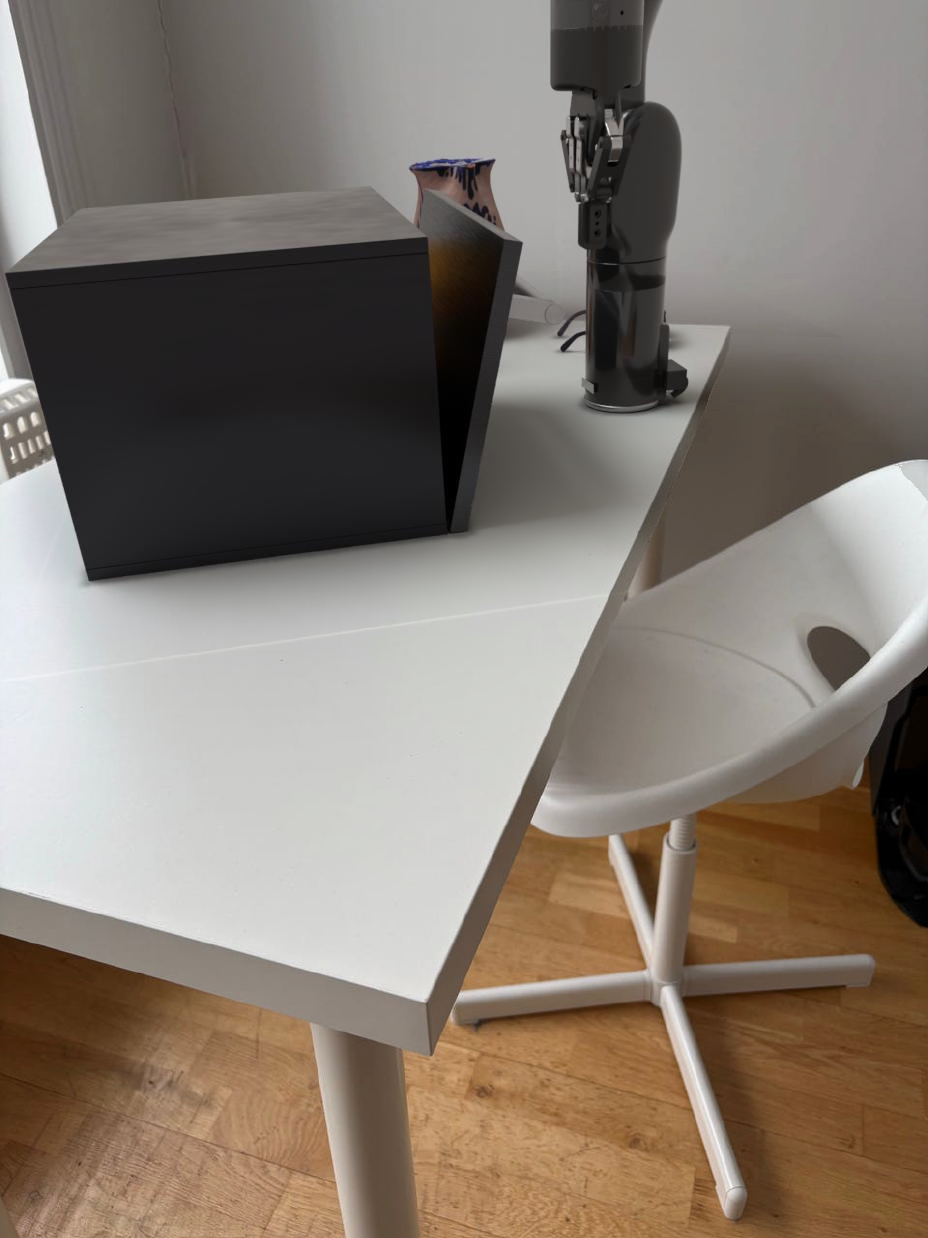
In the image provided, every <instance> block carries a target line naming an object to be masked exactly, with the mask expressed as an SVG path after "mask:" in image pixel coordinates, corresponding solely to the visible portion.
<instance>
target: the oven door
mask: <svg viewBox="0 0 928 1238" xmlns="http://www.w3.org/2000/svg"><path fill="white" fill-rule="evenodd" d="M419 230H420V231H421V232H423V233H424V234H425V235H426V236H427V237H428V248H429V252H428V253H429V263H430V278H431V294H432V309H433V324H434V339H435V355H436V370H437V385H438V400H439V416H440V431H441V446H442V462H443V477H444V492H445V507H446V524H447V529H448V530H449V532H451V533H467V532H468V530H469V524H470V518H471V514H472V508H473V503H474V497H475V493H476V488H477V482H478V477H479V472H480V466H481V462H482V456H483V452H484V447H485V441H486V435H487V432H488V426H489V421H490V415H491V410H492V406H493V400H494V396H495V390H496V384H497V379H498V374H499V370H500V364H501V359H502V354H503V350H504V349H503V348H504V344H505V337H506V333H507V327H508V323H509V319H512V320H513V319H514V320H519V321H526V322H532V323H533V322H534V323H539V324H545V325H551V326H556V325H559V324H560V323H562V322H563V320H564V318H565V309H564V308H563V306H561V304H560V303H558V302H556V301H555V300H554V299H552V298H551V297H549V296H548V295H547V294H545V293H544V292H543V291H541V290H540V289H539V288H537V287H536V286H535V285H533V284H532V283H531V282H529V281H528V280H527V279H525V278H523V277H522V276H521V275H520V274H518V272H519V266H520V261H521V255H522V249H523V246H524V245H523V244H524V242H523V241H521V240H520V239H519V238H517V237H515V236H513V235H512V234H510V233H508V232H507V231H506V230H505V229H504V230H505V231H504V230H502V229H500V228H499V227H497V226H495V225H494V224H492V223H490V222H489V221H487V220H485V219H484V218H482V217H481V216H479V215H477V214H476V213H474V212H472V211H471V210H469V209H467V208H466V207H464V206H462V205H461V204H459V203H457V202H456V201H454V200H452V199H451V198H449V197H448V196H446V195H444V194H443V193H441V192H439V191H437V190H431V189H426V188H425V191H424V197H423V204H422V211H421V218H420V225H419Z"/></svg>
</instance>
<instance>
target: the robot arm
mask: <svg viewBox="0 0 928 1238" xmlns="http://www.w3.org/2000/svg"><path fill="white" fill-rule="evenodd" d="M663 3H664V0H549V4H550V5H549V6H550V8H549V12H550V15H549V16H550V17H549V18H550V19H549V20H550V23H549V24H550V30H549V31H550V33H549V34H550V35H549V38H550V40H549V42H550V44H549V45H550V48H549V49H550V50H549V51H550V52H549V55H550V56H549V59H550V60H549V61H550V62H549V64H550V65H549V67H550V68H549V70H550V71H549V83H550V85H549V86H550V88H551V89H552V90H553V91H555V92H571V97H570V107H569V115H567V116H566V119H565V120H566V121H565V127H566V129H561V132H560V136H559V139H560V143H561V149H562V154H563V160H564V164H565V170H566V176H567V182H568V188H569V192H570V193H571V194H573V193H574V200H575V202H576V203H578V207H577V208H578V210H577V211H578V212H577V245H578V246H579V247H580V248H582V249H584V250H586V254H585V255H586V259H585V260H586V261H585V264H586V265H585V310H586V314H585V331H586V335H585V348H584V349H585V350H584V351H585V355H584V356H585V357H584V359H585V360H584V361H585V363H584V377H581V387H582V388H584V395H583V402H584V404H585V405H586V406H587V407H589V408H591V409H594V410H597V411H601V412H607V413H623V414H624V413H635V412H636V413H637V412H642V411H646V410H650V409H652V408H655V407H657V406H661V405H666V404H667V392H668V391H670V392H669V395H670V396H671V397H672V398H673V399H677V397H679V396H680V395H682V394H683V393H684V392H686V390H687V389H688V387H689V378H688V369H687V368H686V367H684V366H683V365H681V364H679V362H677V361H676V360H674V359H672V358H670V359H669V352H670V350H669V349H670V333H671V332H670V329H671V327H670V325H669V323H667V322H666V323H665V322H664V310H665V306H666V305H665V303H666V285H667V283H666V281H667V263H668V261H667V260H668V247H669V246H668V245H669V241H670V239H671V237H672V234H673V232H674V229H675V226H676V222H677V215H678V205H679V196H680V195H679V194H680V187H681V186H680V185H681V184H680V183H681V173H682V161H683V141H682V134H681V133H682V132H681V128H680V125H679V122H678V119H677V118H676V117H675V116H676V115H674V113H673V112H672V111H671V109H669V108H668V107H667V106H666V105H664V104H662V103H661V102H657V101H653V100H646V88H647V87H646V84H647V83H646V82H647V63H648V54H649V53H648V52H649V48H650V43H651V42H650V41H651V38H652V33H653V30H654V26H655V24H656V20H657V18H658V15H659V14H660V13H659V12H660V10H661V8H662V4H663Z"/></svg>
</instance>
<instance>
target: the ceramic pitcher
mask: <svg viewBox="0 0 928 1238" xmlns="http://www.w3.org/2000/svg"><path fill="white" fill-rule="evenodd" d="M496 161H497V159H496V158H482V157H481V158H480V157H479V158H453V159H449V158H443V157H441V158H437V159H433V160H426V161H421V162H415V163H413V164H411V165H409V166H408V169H409V171H410V172H411V173H412V174H413V175H414V177H415V179H416V182H417V201H416V208H415V211H414V212H415V213H414V218H413V221H412V224H414V225H415V226H416V227H417V228H418V229H419V225H420V218H421V211H422V204H423V197H424V191H425V188H426V189H431V190H437V191H439V192H441V193H443V194H444V195H446V196H448V197H449V198H451V199H452V200H454V201H456V202H457V203H459V204H461V205H462V206H464V207H466V208H467V209H469V210H471V211H472V212H474V213H476V214H477V215H479V216H481V217H482V218H484V219H485V220H487V221H489V222H490V223H492V224H494V225H495V226H497V227H499V228H500V229H502V230H504V231H505V232H506V230H505V227H504V225H503V222H502V218H501V215H500V211H499V210H498V209H499V208H498V207H497V203H496V201H495V196H494V194H493V189H492V183H491V175H492V174H491V173H492V169H493V167H494V165H495V162H496Z"/></svg>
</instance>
